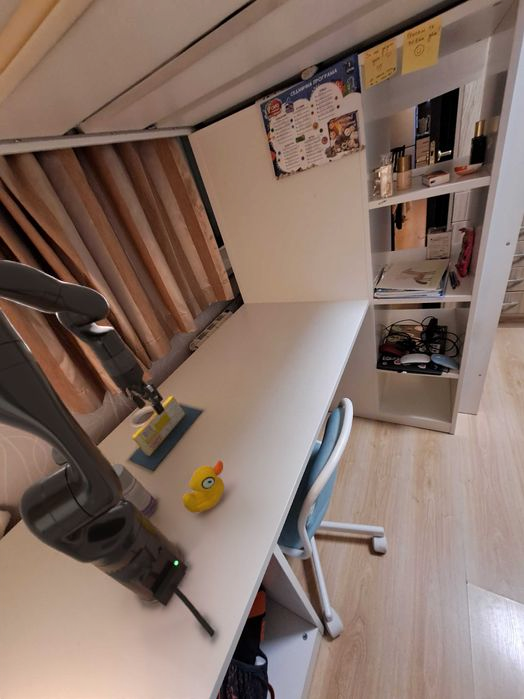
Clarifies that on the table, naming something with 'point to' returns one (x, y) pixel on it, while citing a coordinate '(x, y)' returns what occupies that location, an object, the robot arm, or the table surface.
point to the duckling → (204, 488)
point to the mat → (167, 441)
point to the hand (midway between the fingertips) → (151, 409)
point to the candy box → (158, 426)
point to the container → (135, 491)
